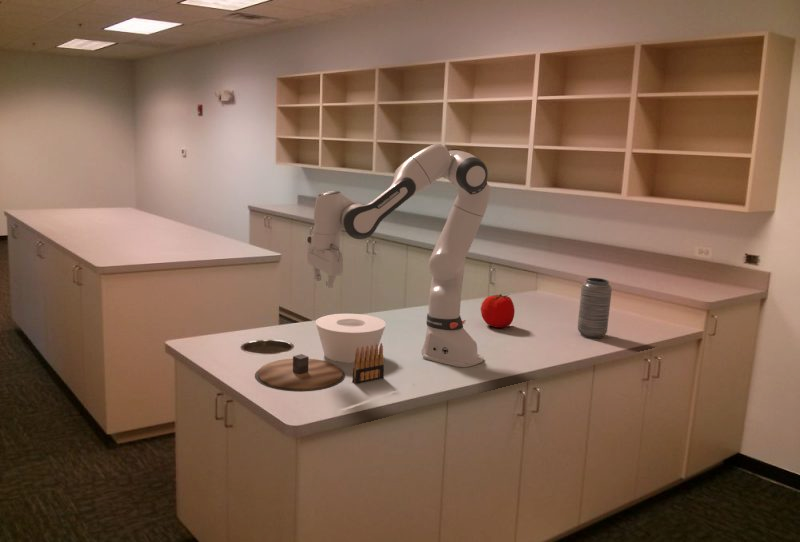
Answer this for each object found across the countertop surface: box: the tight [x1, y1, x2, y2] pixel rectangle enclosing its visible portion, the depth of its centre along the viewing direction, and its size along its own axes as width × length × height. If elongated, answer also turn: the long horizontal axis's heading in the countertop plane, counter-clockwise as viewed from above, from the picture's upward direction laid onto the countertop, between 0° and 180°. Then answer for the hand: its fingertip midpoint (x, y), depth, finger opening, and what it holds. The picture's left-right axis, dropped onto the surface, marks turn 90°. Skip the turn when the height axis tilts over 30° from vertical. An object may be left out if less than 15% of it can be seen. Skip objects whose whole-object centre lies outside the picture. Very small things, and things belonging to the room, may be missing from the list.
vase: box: [577, 277, 613, 339], centre depth 275 cm, size 12×12×23 cm
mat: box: [254, 369, 346, 392], centre depth 215 cm, size 28×28×1 cm
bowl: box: [315, 313, 387, 364], centre depth 236 cm, size 24×24×12 cm
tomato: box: [480, 293, 516, 329], centre depth 283 cm, size 16×14×14 cm
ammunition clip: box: [352, 342, 385, 385], centre depth 212 cm, size 11×2×12 cm, turn 127°
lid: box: [257, 353, 343, 390], centre depth 214 cm, size 26×26×6 cm
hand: (323, 283), depth 221 cm, fingers open, 8 cm apart
